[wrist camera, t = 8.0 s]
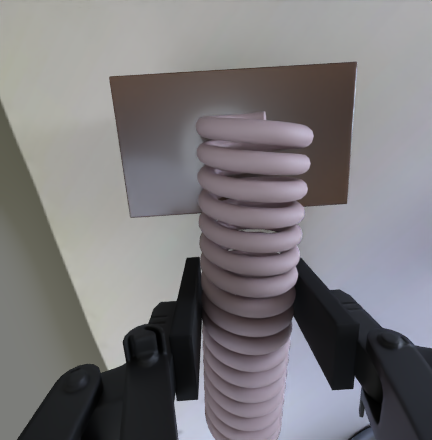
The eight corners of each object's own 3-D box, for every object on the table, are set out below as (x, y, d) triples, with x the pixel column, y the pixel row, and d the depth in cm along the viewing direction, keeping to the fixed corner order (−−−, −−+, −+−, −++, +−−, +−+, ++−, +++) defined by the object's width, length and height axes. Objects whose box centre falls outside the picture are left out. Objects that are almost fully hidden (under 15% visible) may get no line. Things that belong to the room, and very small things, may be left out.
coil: (293, 458, 14) (345, 99, 8) (209, 473, 13) (199, 97, 7) (266, 380, 18) (286, 112, 12) (202, 389, 17) (192, 112, 12)
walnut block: (290, 184, 23) (347, 204, 14) (163, 192, 23) (130, 217, 14) (291, 104, 22) (357, 61, 12) (154, 112, 22) (108, 76, 12)
